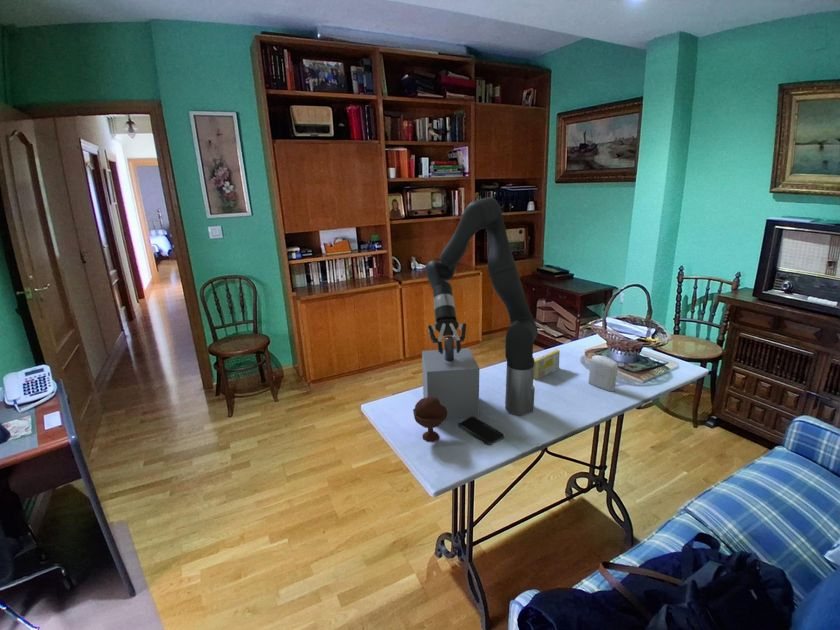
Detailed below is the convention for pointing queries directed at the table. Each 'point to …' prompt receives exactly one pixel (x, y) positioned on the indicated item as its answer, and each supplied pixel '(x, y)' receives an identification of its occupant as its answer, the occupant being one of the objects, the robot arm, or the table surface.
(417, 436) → the table surface
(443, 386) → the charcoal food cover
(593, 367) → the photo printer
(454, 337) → the robot arm
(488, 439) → the black smartphone
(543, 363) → the candy box
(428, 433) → the ice cream bowl
